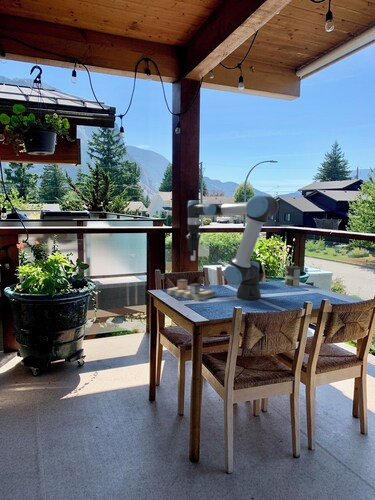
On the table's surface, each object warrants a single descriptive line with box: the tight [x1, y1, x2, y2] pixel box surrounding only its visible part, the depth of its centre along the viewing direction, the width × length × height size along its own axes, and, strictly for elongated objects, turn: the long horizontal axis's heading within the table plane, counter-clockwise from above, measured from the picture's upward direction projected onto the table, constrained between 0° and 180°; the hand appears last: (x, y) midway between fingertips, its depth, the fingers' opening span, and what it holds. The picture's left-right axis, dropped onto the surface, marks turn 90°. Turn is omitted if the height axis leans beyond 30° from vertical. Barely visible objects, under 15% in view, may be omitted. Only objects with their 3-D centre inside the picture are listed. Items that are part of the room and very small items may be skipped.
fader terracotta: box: [176, 278, 189, 289], centre depth 236 cm, size 4×5×5 cm
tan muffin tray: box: [166, 285, 216, 302], centre depth 232 cm, size 26×17×3 cm, turn 50°
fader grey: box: [188, 282, 201, 294], centre depth 224 cm, size 4×5×5 cm
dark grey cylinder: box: [250, 258, 265, 283], centre depth 264 cm, size 20×20×19 cm
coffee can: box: [284, 265, 301, 288], centre depth 267 cm, size 10×10×14 cm
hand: (193, 260), depth 240 cm, fingers closed
